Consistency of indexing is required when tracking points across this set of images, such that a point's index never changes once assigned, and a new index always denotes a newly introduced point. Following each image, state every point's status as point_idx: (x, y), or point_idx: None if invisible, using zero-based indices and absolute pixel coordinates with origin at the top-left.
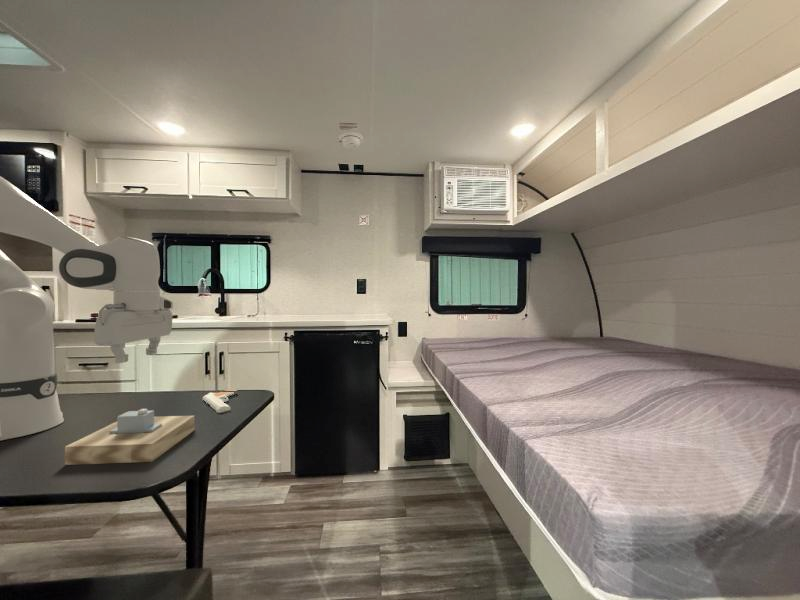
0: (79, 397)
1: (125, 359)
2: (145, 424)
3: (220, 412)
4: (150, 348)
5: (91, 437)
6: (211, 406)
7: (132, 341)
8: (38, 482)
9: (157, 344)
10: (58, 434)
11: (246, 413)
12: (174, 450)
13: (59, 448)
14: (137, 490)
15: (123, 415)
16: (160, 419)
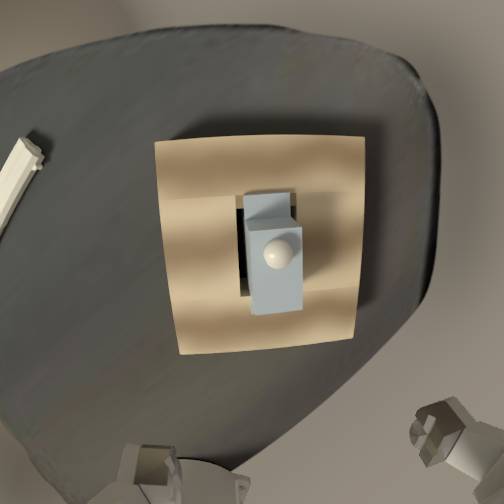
0: (69, 491)
1: (449, 407)
2: (288, 220)
3: (41, 154)
4: (171, 495)
5: (311, 327)
6: (10, 214)
7: (496, 494)
8: (391, 302)
9: (108, 502)
10: (205, 434)
11: (51, 69)
12: (293, 118)
13: (266, 388)
14: (432, 103)
15: (293, 299)
16: (190, 238)
